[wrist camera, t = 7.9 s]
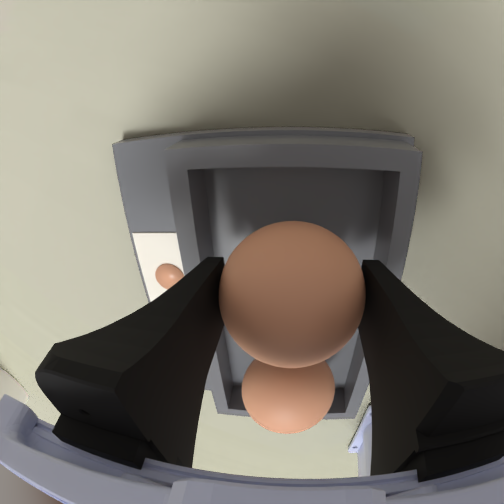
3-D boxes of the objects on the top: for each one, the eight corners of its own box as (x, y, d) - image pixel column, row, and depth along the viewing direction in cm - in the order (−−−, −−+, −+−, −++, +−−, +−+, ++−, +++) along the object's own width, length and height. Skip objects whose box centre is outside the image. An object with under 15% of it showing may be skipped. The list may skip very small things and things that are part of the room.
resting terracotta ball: (327, 380, 19) (328, 448, 14) (250, 378, 19) (239, 444, 15) (337, 326, 16) (345, 403, 12) (245, 323, 17) (229, 399, 12)
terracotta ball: (346, 304, 14) (359, 396, 9) (237, 302, 14) (214, 391, 10) (359, 200, 11) (396, 276, 7) (227, 198, 12) (188, 272, 7)
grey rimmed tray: (356, 385, 20) (360, 419, 17) (181, 375, 22) (170, 407, 19) (406, 133, 12) (434, 147, 9) (122, 139, 13) (87, 155, 11)
